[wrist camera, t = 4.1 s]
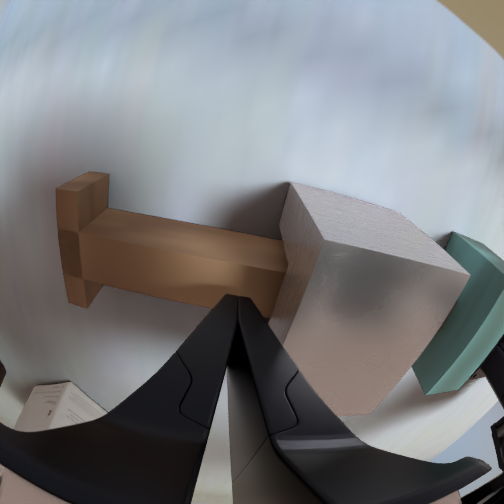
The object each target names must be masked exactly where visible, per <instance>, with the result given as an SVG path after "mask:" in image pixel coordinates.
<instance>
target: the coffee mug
mask: <svg viewBox="0 0 504 504" xmlns="http://www.w3.org/2000/svg"><path fill="white" fill-rule="evenodd" d="M5 374H6V370H5V368H4V366H3V364H2V362H1V361H0V386H1V384H2V381H3V379H4V377H5Z"/></svg>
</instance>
